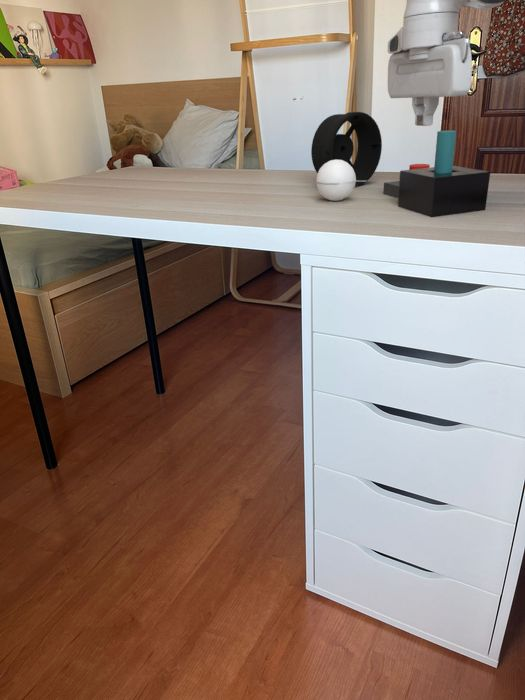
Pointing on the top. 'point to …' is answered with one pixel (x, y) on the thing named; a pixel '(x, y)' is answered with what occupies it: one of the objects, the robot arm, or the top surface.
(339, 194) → the seamed sphere
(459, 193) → the black block with hole
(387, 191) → the block
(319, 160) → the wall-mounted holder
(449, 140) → the teal and grey cylinder
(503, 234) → the top surface
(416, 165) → the power button
